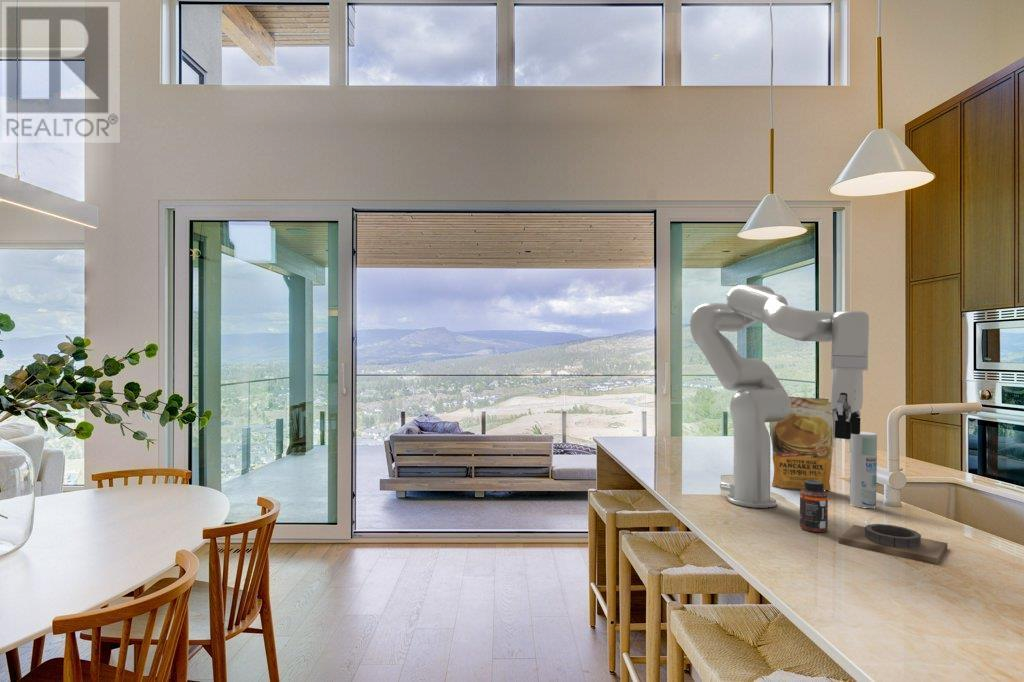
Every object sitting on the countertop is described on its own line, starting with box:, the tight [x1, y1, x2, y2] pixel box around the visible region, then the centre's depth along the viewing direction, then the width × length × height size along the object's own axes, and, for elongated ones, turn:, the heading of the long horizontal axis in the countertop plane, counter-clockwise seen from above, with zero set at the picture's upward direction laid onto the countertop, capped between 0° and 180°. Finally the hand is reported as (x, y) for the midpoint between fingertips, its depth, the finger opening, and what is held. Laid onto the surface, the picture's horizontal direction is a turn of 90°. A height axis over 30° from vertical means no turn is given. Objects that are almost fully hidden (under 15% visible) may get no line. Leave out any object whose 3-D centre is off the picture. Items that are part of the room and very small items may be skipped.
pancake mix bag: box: [768, 396, 835, 491], centre depth 180 cm, size 7×19×28 cm, turn 71°
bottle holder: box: [837, 523, 948, 565], centre depth 128 cm, size 18×13×3 cm
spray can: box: [849, 430, 878, 509], centre depth 161 cm, size 6×6×20 cm
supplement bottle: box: [799, 480, 829, 533], centre depth 139 cm, size 6×6×11 cm
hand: (847, 436), depth 138 cm, fingers open, 9 cm apart
